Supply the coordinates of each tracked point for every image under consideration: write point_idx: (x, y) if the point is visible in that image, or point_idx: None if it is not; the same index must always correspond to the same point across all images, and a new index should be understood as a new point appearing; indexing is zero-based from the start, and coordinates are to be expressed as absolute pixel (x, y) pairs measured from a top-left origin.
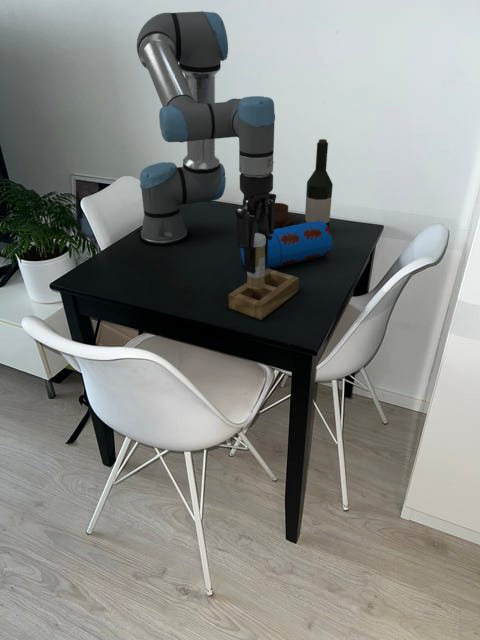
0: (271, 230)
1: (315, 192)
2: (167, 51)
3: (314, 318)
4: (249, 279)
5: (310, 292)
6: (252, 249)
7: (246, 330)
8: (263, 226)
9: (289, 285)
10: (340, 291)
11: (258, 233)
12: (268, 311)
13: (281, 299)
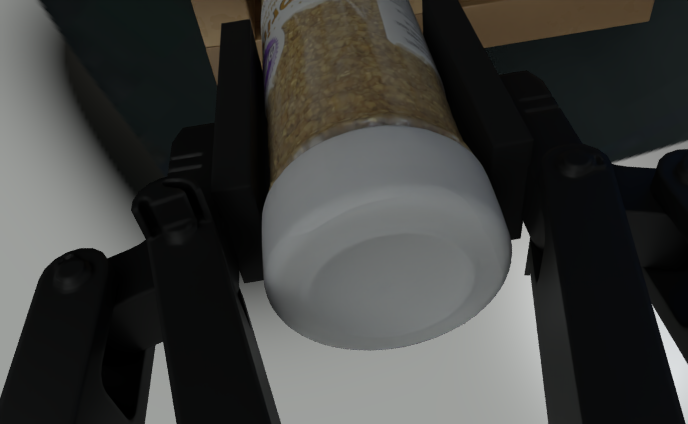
0: (649, 288)
1: None
2: None
3: None
4: (262, 1)
5: (619, 35)
6: (241, 263)
7: (95, 56)
8: (551, 376)
9: (530, 39)
10: (684, 122)
11: (495, 247)
12: None
13: None
